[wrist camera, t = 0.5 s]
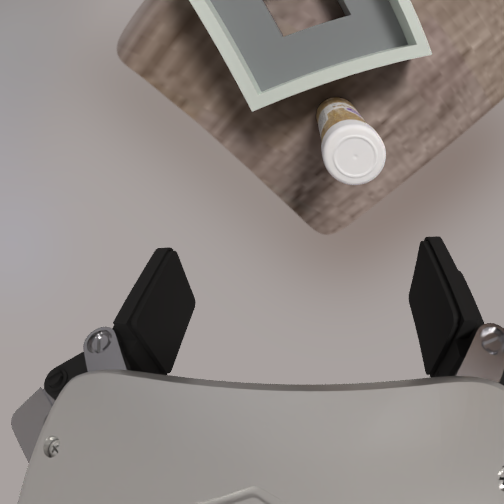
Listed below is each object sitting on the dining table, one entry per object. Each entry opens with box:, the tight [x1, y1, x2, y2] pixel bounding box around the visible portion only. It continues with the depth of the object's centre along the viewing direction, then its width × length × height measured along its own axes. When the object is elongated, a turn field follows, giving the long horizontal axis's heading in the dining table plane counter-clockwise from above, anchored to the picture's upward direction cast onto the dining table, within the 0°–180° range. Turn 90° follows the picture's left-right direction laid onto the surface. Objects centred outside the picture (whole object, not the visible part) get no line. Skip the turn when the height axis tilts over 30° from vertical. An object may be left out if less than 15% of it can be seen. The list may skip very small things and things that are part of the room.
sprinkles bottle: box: [316, 97, 386, 185], centre depth 24 cm, size 5×5×13 cm
